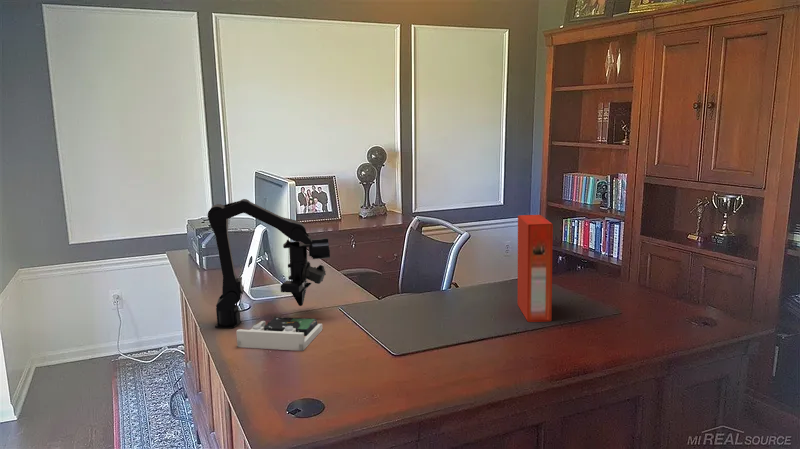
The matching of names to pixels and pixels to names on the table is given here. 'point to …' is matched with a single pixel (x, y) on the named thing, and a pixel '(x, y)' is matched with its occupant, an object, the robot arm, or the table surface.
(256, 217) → the robot arm
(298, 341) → the dock
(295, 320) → the disk drive
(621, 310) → the table surface
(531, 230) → the file binder
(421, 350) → the table surface
